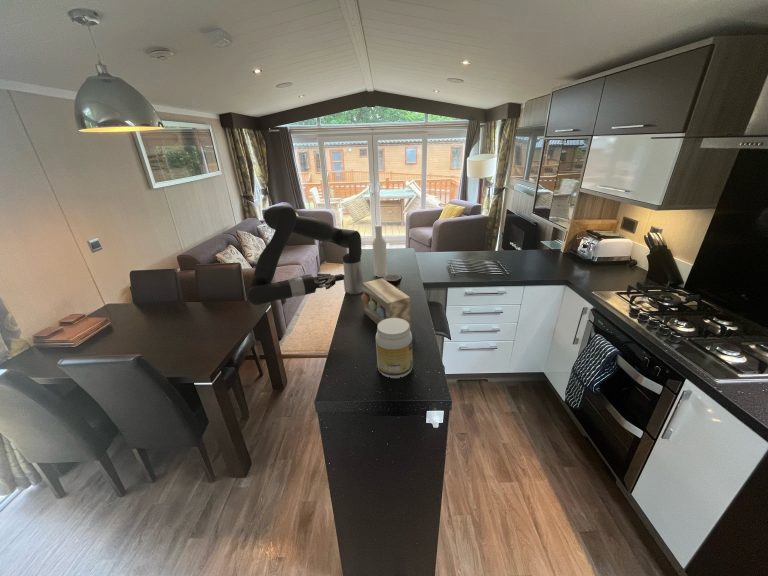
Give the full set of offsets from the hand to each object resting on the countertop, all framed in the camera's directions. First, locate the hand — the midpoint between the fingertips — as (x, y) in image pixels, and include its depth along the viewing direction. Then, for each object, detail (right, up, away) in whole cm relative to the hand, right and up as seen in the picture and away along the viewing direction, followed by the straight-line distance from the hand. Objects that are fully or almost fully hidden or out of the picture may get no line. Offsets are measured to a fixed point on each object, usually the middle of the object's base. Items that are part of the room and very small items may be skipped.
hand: (343, 276), depth 128 cm
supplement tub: (+21, -32, -21) cm, 44 cm away
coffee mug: (+23, -8, +33) cm, 41 cm away
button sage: (+12, -14, +3) cm, 19 cm away
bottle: (+15, +3, +59) cm, 61 cm away
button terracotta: (+9, -12, +10) cm, 17 cm away
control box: (+18, -19, +9) cm, 28 cm away
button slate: (+16, -17, -3) cm, 23 cm away
